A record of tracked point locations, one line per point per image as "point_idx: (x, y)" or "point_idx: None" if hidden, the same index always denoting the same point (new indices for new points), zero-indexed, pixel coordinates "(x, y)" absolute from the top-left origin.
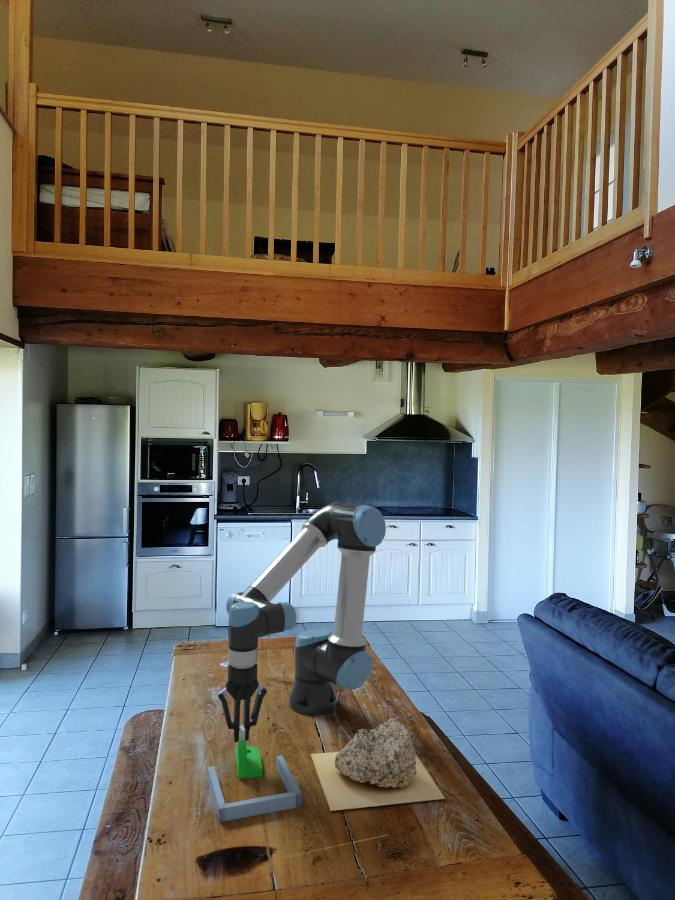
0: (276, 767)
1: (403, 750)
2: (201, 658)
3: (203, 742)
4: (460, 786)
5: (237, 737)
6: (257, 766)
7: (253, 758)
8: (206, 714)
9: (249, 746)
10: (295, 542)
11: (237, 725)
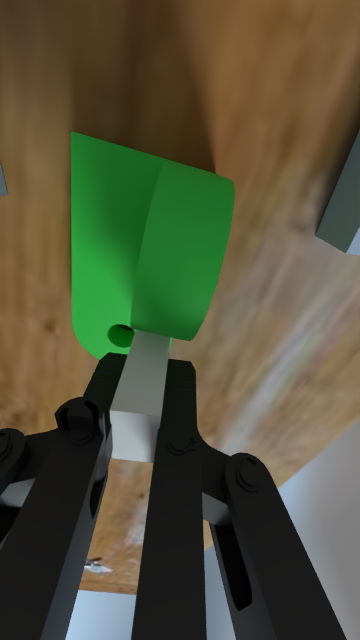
0: (7, 193)
1: None
2: (136, 580)
3: (231, 433)
4: None
5: (174, 382)
6: (99, 182)
7: (107, 273)
8: None
9: None
10: None
11: (175, 476)
